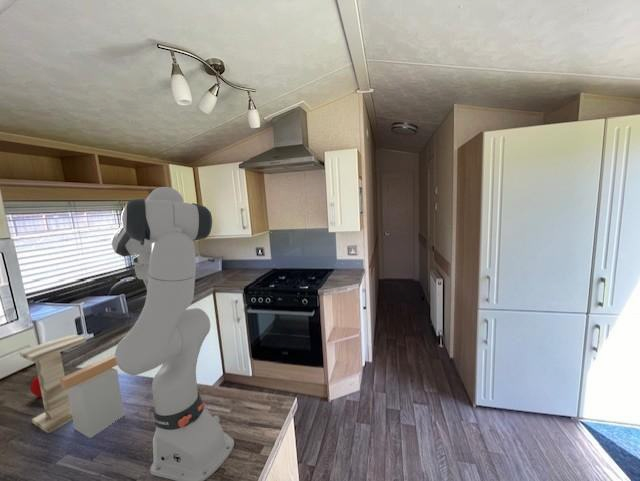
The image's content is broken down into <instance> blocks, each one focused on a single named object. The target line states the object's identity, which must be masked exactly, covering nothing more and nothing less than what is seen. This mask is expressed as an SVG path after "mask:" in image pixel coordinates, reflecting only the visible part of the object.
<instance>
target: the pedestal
mask: <svg viewBox="0 0 640 481" xmlns="http://www.w3.org/2000/svg"><path fill="white" fill-rule="evenodd" d="M67 391H68V397H69V402H70V407H71V413H72V418H73V420H72V423H73V427H74V428H73V429H74V430H76V431H77V432H79V433H81V434H82V435H84V436H86V437H88V438H89V439H91V438H93V437H94V436H96V435H98V434H99V433H101V432H102V431H104V430H105V429H107V428H108V427H110V426H111V425H113V424H114V423H116V422H118V421H119V420H121V419H122V418H124V417H125V410H124V404H123V398H122V397H123V396H122V393H121V392H122V391H121V386H120V380H119V374H118V369H116V368H114V367H112V368H110V369H108V370H106V371H104V372H102V373H100V374H98V375H96V376H94V377H92V378H89V379H87V380H85V381H83V382H81V383H79V384H77V385H75V386H73V387H71V388H69V389H67ZM123 416H124V417H123ZM121 417H122V418H121ZM120 418H121V419H120ZM118 419H119V420H118ZM117 420H118V421H117ZM115 421H116V422H115ZM112 423H113V424H112ZM109 425H110V426H109Z"/></svg>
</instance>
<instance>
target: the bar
mask: <svg viewBox="0 0 640 481" xmlns="http://www.w3.org/2000/svg"><path fill="white" fill-rule="evenodd" d="M116 366H118V365H117V363H116V359H115V353H113V354H111V355H109V356H107V357H104V358H103V359H100V360H97V361H96V362H93V363H92V364H89V365H87V366H84V367H83V368H80V369H78V370H76V371H73V372H71V373H69V374H67V375H66V374H65V376H64V377H62V378H60V383H61V388H63V389H65V390H67V389H69V388H71V387H73V386H75V385H77V384H79V383H81V382H83V381H85V380H87V379H89V378H92V377H94V376H96V375H98V374H100V373H102V372H104V371H106V370H108V369H110V368H114V367H116Z"/></svg>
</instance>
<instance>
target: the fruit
mask: <svg viewBox="0 0 640 481" xmlns="http://www.w3.org/2000/svg"><path fill="white" fill-rule="evenodd" d="M29 387H30V388H29V389H30V392H31V394H32V395H34V396H35V397H37V398H42V393H41V388H40V383H39V378H38V375H37V376H35V378H33V380H32V381H31V383H30V386H29Z"/></svg>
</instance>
